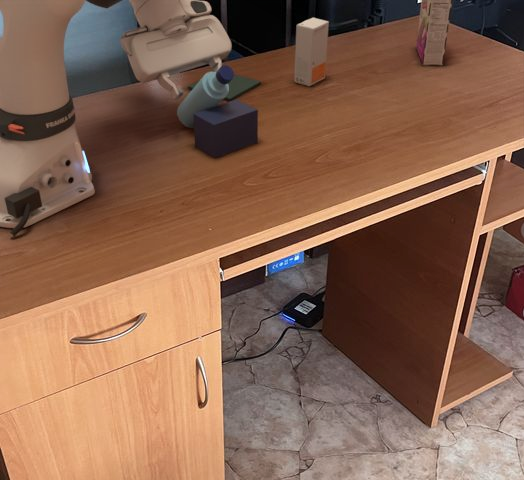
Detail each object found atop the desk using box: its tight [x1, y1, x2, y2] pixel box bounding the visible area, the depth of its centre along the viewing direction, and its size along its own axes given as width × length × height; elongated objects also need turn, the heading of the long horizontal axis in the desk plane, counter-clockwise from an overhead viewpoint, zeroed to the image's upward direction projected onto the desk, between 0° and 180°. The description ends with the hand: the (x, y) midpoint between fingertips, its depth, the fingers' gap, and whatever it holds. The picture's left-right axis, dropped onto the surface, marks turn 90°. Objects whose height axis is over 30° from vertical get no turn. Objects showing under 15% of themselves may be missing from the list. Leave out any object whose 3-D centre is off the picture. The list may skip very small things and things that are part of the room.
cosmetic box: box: [293, 17, 330, 87], centre depth 164 cm, size 6×4×12 cm
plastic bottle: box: [176, 64, 235, 129], centre depth 143 cm, size 14×5×14 cm, turn 40°
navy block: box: [193, 98, 259, 159], centre depth 142 cm, size 6×10×6 cm, turn 130°
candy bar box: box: [415, 0, 453, 67], centre depth 173 cm, size 11×5×16 cm, turn 179°
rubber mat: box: [187, 73, 262, 102], centre depth 165 cm, size 11×11×1 cm
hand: (199, 90), depth 144 cm, fingers open, 8 cm apart
